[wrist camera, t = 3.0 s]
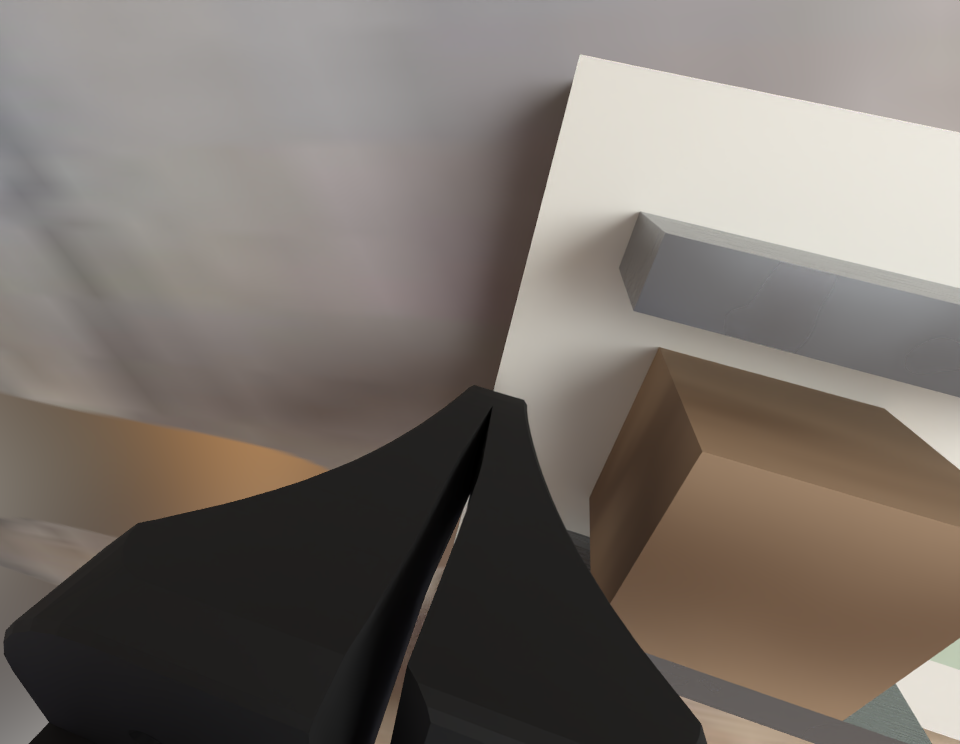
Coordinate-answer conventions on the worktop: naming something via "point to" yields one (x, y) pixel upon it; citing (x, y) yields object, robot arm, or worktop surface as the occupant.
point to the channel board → (734, 209)
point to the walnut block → (777, 535)
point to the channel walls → (807, 332)
